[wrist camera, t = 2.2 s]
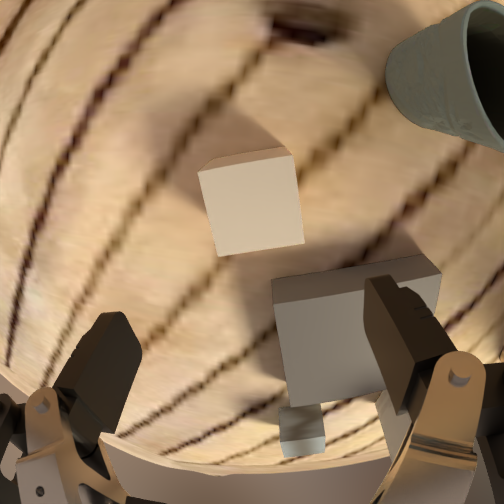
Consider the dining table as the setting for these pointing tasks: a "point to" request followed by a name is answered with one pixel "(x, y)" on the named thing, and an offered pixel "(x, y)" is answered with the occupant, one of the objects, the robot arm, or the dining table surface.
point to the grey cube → (301, 430)
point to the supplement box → (392, 423)
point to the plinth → (338, 327)
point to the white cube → (252, 201)
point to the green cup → (454, 75)
